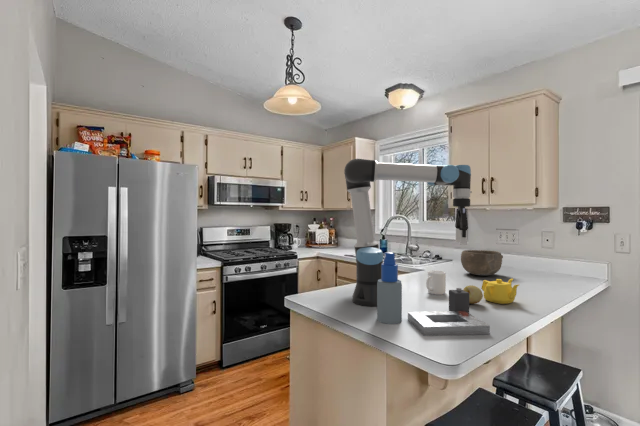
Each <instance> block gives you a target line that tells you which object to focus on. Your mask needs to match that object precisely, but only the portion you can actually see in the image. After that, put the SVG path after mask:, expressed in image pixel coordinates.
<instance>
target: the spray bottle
mask: <svg viewBox="0 0 640 426" xmlns="http://www.w3.org/2000/svg"><path fill="white" fill-rule="evenodd" d="M395 255H396V253H394V252H392V251H391V252H390V251H386V252H384V253H383V264H381V279H379V280H378V282H377V306H376V320H377V321H378V322H379V323H381V324H386V325H396V324H400V323H402V321H403V319H402V316H403V314H402V312H403V307H402V304H403V293H402V292H403V283H402V280H400V279H399V277H398V275H399V269H398V268H399V264H397V262H396V260H397V259H396V256H395Z"/></svg>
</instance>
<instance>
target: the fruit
mask: <svg viewBox="0 0 640 426" xmlns="http://www.w3.org/2000/svg"><path fill="white" fill-rule="evenodd" d="M462 290H464V291H466V292H468V293H469V305H470V304H471V305H475V304H479V303H480V302H481V301H482V299H483V298H484V293H483V292H482V291H483V290H482V289H481V288H479V287H478V286H476V285H473V284H472V285H466V286H465V287H463V289H462Z"/></svg>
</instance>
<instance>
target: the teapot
mask: <svg viewBox="0 0 640 426" xmlns="http://www.w3.org/2000/svg"><path fill="white" fill-rule="evenodd" d="M513 280H514V278H510V279H508V281H507V282H506V281H503V279H501V278H496V279H495V280H492V281H489V280H486V279H484V280H483V281H482V283H481V288H480V290H481V291H483V298H484V299H485V301H487V302H490V303H494V304H498V305H499V304H501V305H505V304H506V305H507V304H508V305H509V304H511V303H514V301H515V299H516V296H517V288H518V287H519V286H520V284H514V285H512V282H513Z"/></svg>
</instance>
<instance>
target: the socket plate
mask: <svg viewBox="0 0 640 426" xmlns="http://www.w3.org/2000/svg"><path fill="white" fill-rule="evenodd" d="M407 321H409V322H410V323H411V324H412V325H413V327H414V328H416V329H417V331H418V332H420V333H421V334H422V335H423V336H425V337H426V336H427V337H429V336H430V337H431V336H459V335H460V336H463V335H464V336H466V335H467V336H468V335H469V336H471V335H473V336H474V335H490V334H491V332H490V331H491V330H490V329H491V325H490V324H488V323H486V322H484V321H483V320H481V319H480V318H478V317H476V316H475V315H473V314H471V313H470V312H469V313H468V312H466V311H449V310H448V311H446V310H445V311H440V310H439V311H407Z"/></svg>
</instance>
